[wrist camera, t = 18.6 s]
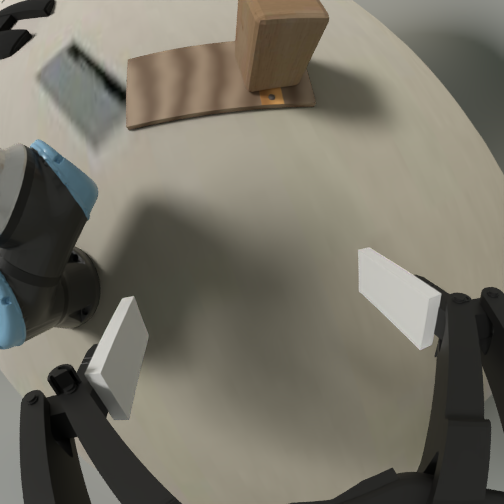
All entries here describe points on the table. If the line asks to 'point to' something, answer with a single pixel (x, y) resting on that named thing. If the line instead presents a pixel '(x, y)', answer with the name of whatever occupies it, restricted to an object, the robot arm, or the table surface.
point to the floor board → (199, 86)
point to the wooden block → (277, 40)
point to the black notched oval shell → (36, 5)
